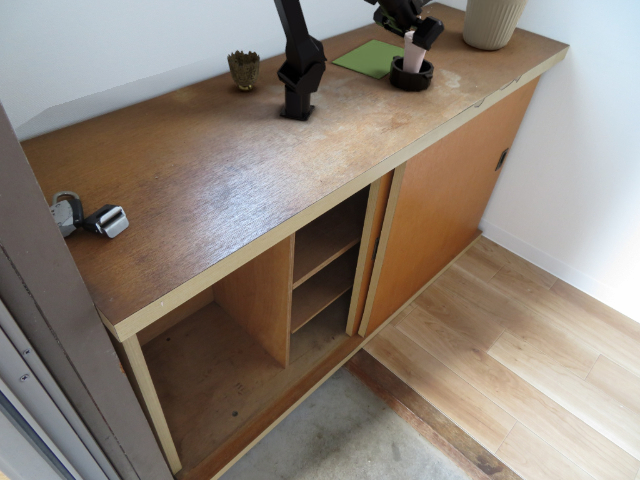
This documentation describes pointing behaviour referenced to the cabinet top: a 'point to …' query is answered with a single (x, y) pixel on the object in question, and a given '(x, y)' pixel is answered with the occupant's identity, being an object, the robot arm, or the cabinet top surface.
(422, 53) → the smoothie
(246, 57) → the cup
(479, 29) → the canister
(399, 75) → the pot
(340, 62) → the cloth
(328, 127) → the cabinet top surface
